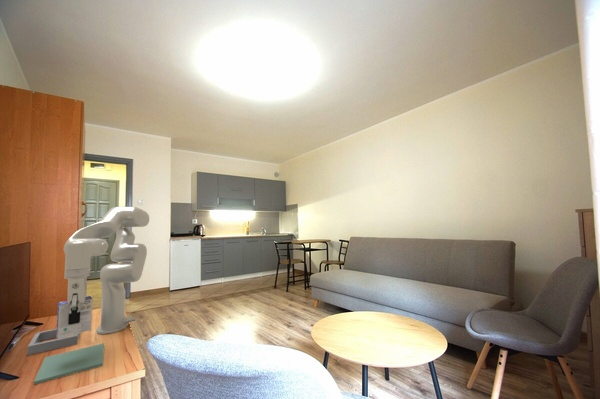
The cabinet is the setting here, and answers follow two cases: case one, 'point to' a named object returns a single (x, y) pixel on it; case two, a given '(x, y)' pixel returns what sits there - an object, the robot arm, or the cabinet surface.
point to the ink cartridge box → (80, 327)
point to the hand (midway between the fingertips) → (75, 320)
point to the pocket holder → (49, 342)
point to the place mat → (70, 363)
